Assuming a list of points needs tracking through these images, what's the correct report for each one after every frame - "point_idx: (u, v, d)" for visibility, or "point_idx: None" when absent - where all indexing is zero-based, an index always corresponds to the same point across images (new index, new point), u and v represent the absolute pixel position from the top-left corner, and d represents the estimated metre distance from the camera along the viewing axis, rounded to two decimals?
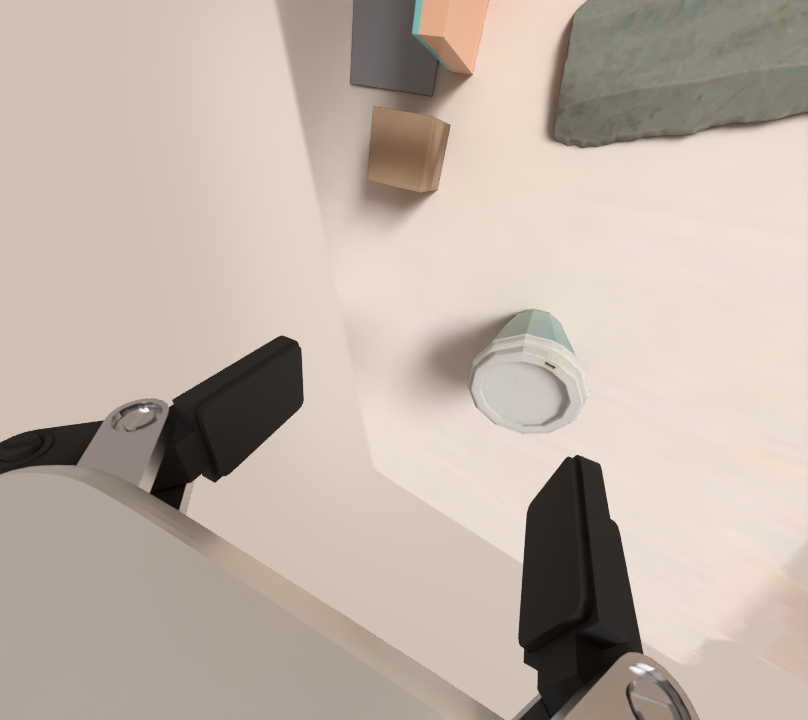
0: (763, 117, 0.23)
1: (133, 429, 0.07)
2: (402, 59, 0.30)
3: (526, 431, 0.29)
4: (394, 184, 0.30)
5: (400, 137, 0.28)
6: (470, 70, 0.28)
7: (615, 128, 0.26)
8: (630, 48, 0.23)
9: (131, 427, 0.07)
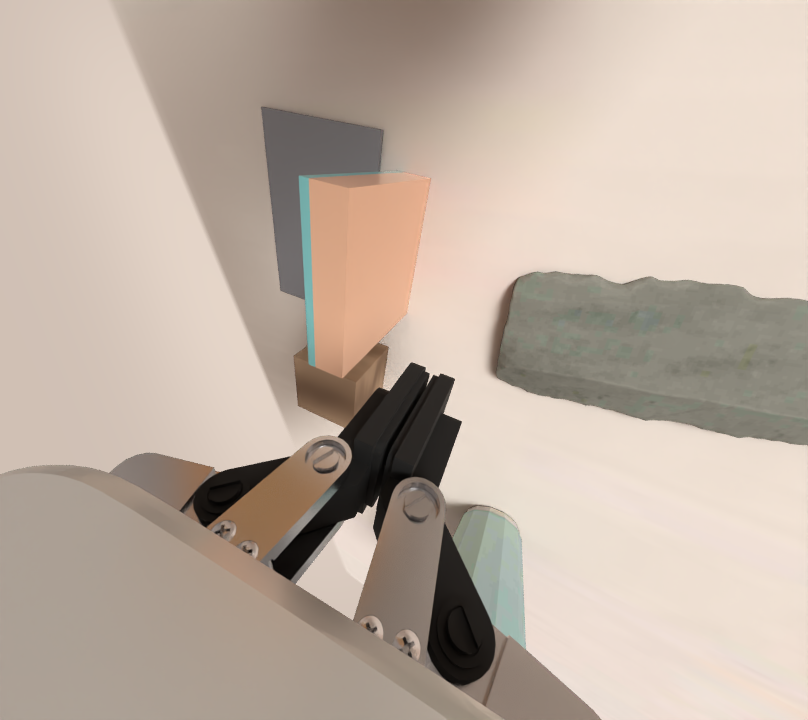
0: (722, 431, 0.19)
1: (316, 466, 0.07)
2: None
3: None
4: (325, 417, 0.28)
5: (325, 387, 0.25)
6: (401, 318, 0.24)
7: (561, 393, 0.22)
8: (576, 338, 0.20)
9: (316, 463, 0.07)
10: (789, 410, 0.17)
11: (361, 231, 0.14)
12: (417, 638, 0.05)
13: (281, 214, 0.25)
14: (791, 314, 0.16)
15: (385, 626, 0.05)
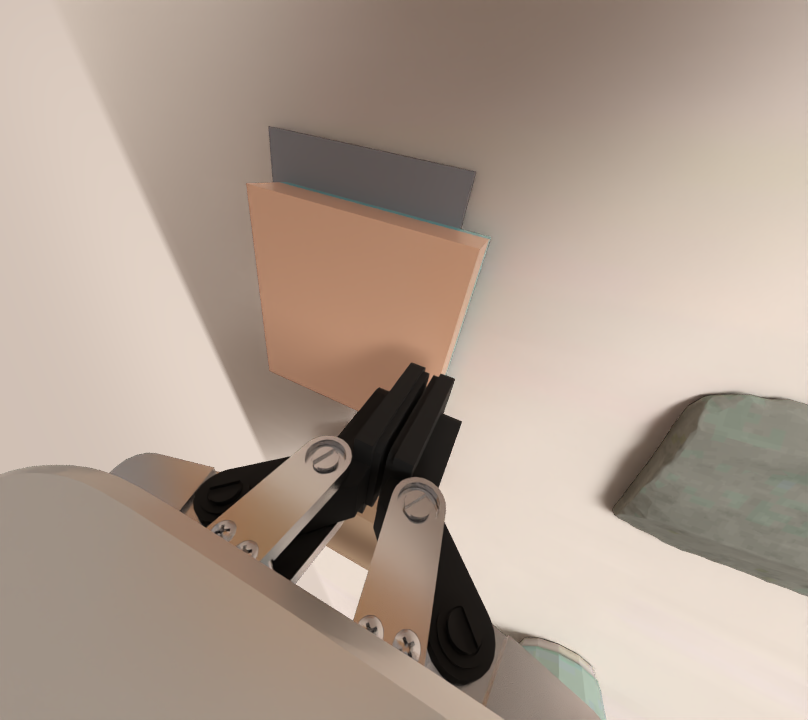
0: None
1: (316, 466, 0.07)
2: None
3: None
4: (350, 558, 0.19)
5: (354, 531, 0.17)
6: None
7: (729, 563, 0.14)
8: (807, 510, 0.11)
9: (316, 463, 0.07)
10: None
11: (273, 236, 0.13)
12: (417, 638, 0.05)
13: None
14: None
15: (385, 626, 0.05)
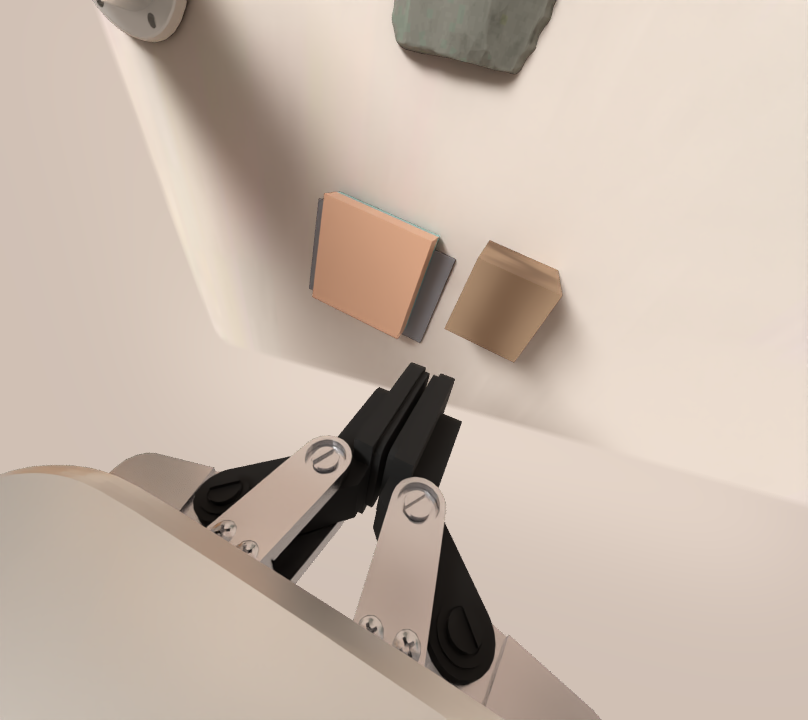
0: None
1: (316, 466, 0.07)
2: None
3: None
4: (535, 329, 0.21)
5: (484, 306, 0.22)
6: (426, 254, 0.24)
7: None
8: None
9: (316, 463, 0.07)
10: None
11: (328, 294, 0.30)
12: (417, 638, 0.05)
13: None
14: None
15: (385, 626, 0.05)
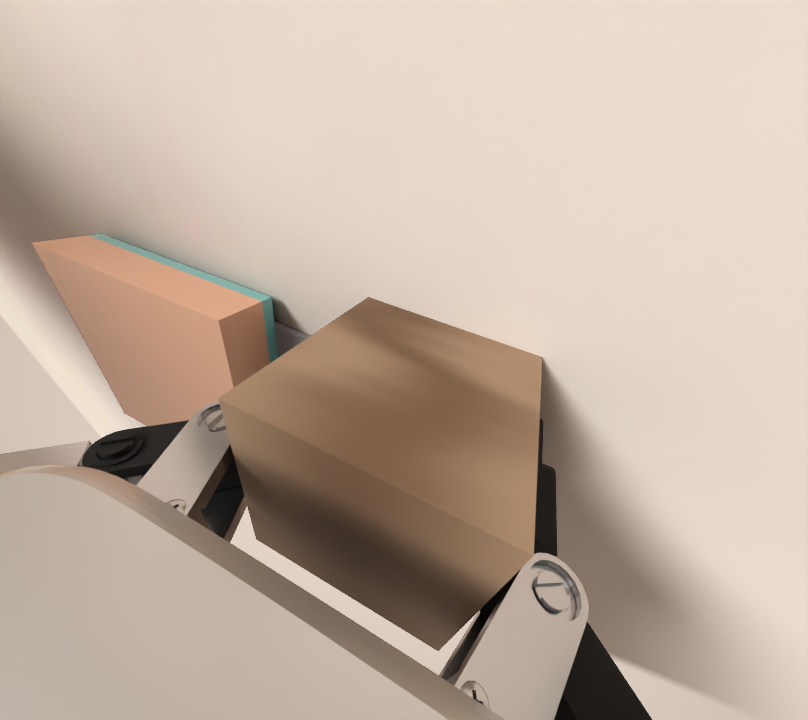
0: None
1: (213, 429, 0.07)
2: None
3: None
4: (466, 610, 0.06)
5: (306, 519, 0.07)
6: (224, 348, 0.11)
7: None
8: None
9: (212, 426, 0.07)
10: None
11: (138, 410, 0.17)
12: None
13: None
14: None
15: (492, 709, 0.04)
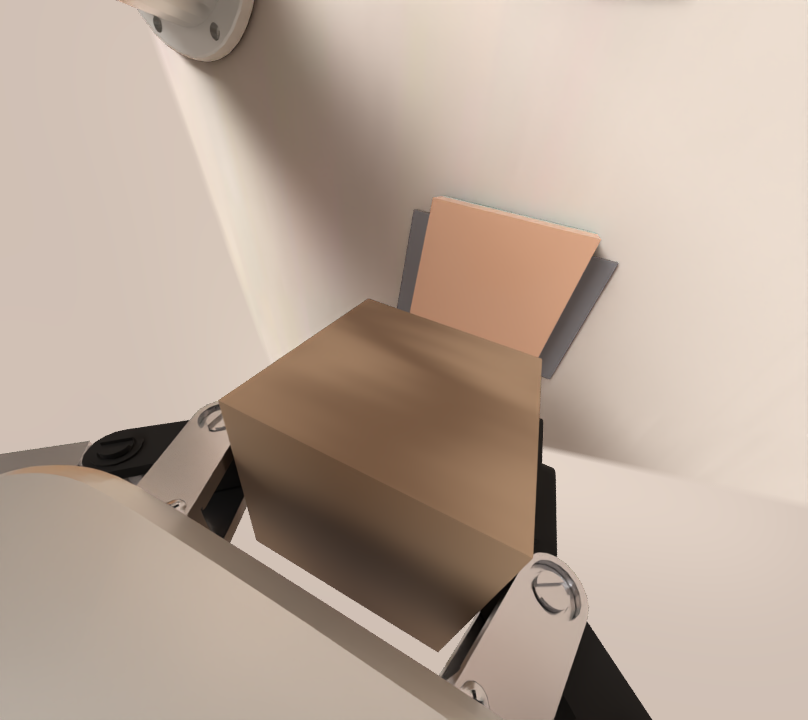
0: None
1: (214, 428, 0.07)
2: None
3: None
4: (466, 612, 0.06)
5: (306, 521, 0.07)
6: (588, 259, 0.17)
7: None
8: None
9: (213, 426, 0.07)
10: None
11: None
12: None
13: None
14: None
15: (492, 708, 0.04)
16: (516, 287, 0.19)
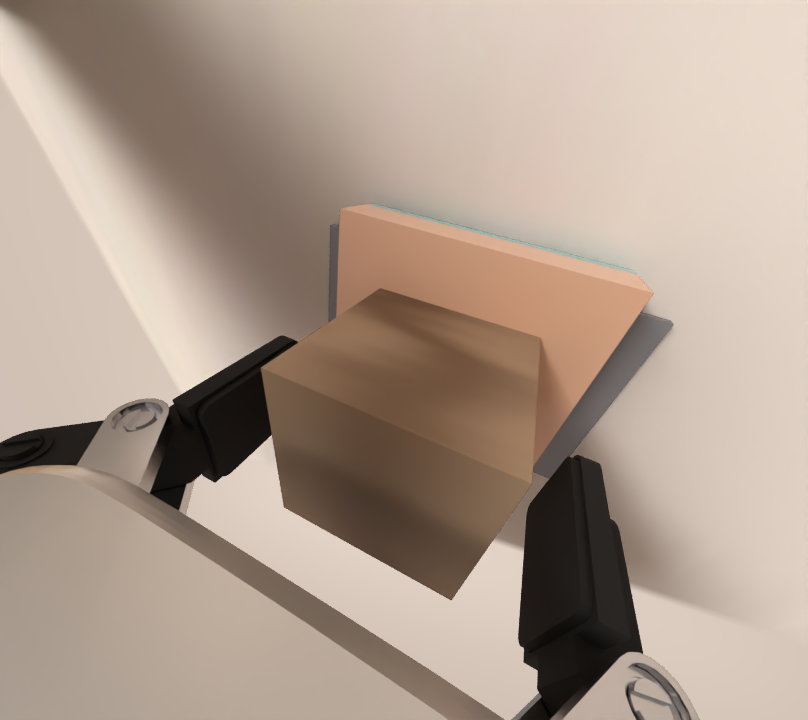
0: None
1: (133, 429, 0.07)
2: None
3: None
4: (476, 550, 0.07)
5: (333, 478, 0.08)
6: (626, 328, 0.09)
7: None
8: None
9: (131, 427, 0.07)
10: None
11: None
12: None
13: None
14: None
15: None
16: None
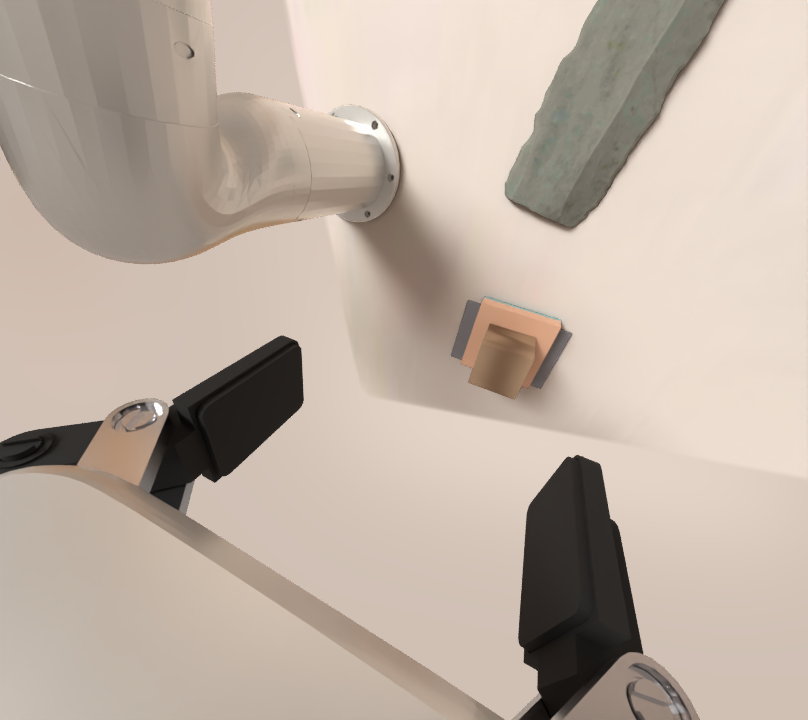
0: (695, 46, 0.24)
1: (133, 429, 0.07)
2: None
3: None
4: (522, 379, 0.35)
5: (490, 368, 0.36)
6: (556, 335, 0.37)
7: (603, 178, 0.29)
8: (554, 162, 0.30)
9: (131, 427, 0.07)
10: (677, 3, 0.23)
11: (474, 361, 0.43)
12: None
13: None
14: (593, 24, 0.25)
15: None
16: None
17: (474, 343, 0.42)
